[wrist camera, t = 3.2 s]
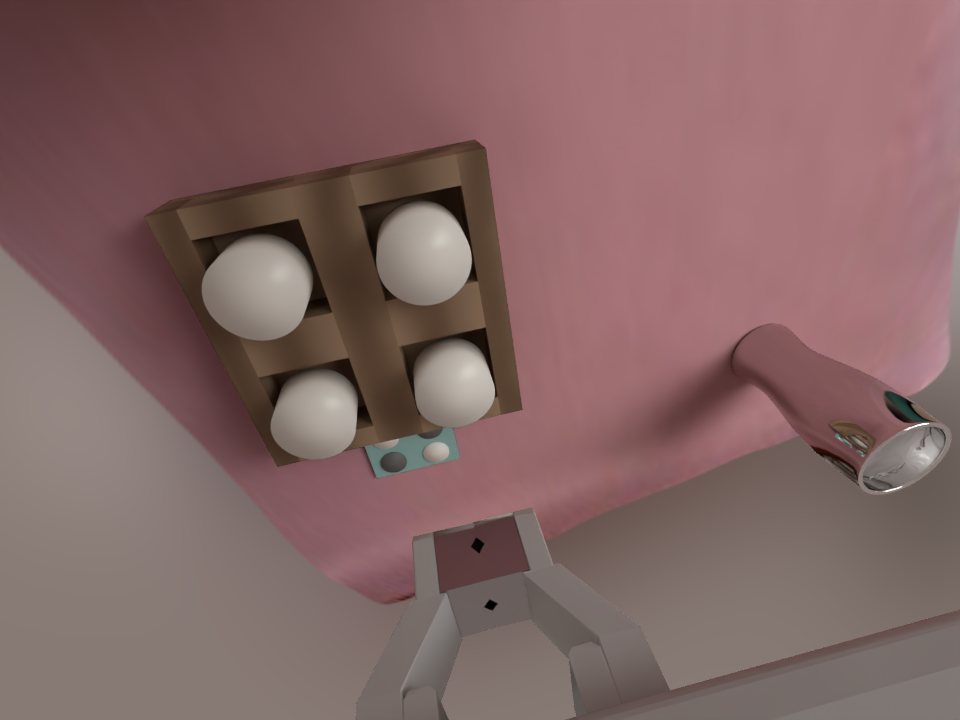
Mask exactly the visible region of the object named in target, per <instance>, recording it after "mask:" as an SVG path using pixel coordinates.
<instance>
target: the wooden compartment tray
mask: <svg viewBox="0 0 960 720" xmlns="http://www.w3.org/2000/svg"><path fill="white" fill-rule="evenodd" d="M415 200H426V201H431V202H435V203H437V204H439V205H441V206H443V207H445V208H446V209H447V210H449V211H450V212H451V213H452V214H453V215H454V217H455V218H456V219H457V221H458V222H459V224H460V226H461V228H462V231H463V233H464V235H465V237H466V239H467V241H468V244H469V246H470V250H471V257H472V264H471V270H470V273H469V276H468V278H467V281H466V282H465V284H464V285H463V287H462V288H461V289H460V290H459V291H458V292H457V293H456V294H455V295H454V296H452V297H451V298H449V299H448V300H446V301H444V302H441V303H438V304H434V305H425V306H422V305H414V304H410V303H407V302H404V301H402V300H400V299H399V298H397V297H396V296H394V295H393V294H392V293H391V292H390V291H389V290H388V289H387V288H386V287H385V285H384V284H383V282H382V280H381V279H380V276H379V273H378V270H377V263H376V256H377V237H378V232H379V229H380V226H381V224H382V222H383V220H384V219H385V217H386V216H387V215H388V214H389V213H390V212H391V211H392V210H393V209H394V208H396V207H397V206H399V205H401V204H403V203H406V202H409V201H415ZM144 218H145V219H146V221H147V223H148V225H149V227H150V229H151V231H152V233H153V234H154V236H155V238H156V240H157V242H158V244H159V246H160V248H161V249H162V251H163V253H164V255H165V257H166V259H167V261H168V263H169V264H170V266H171V268H172V270H173V272H174V274H175V276H176V278H177V279H178V281H179V283H180V285H181V287H182V289H183V291H184V293H185V294H186V296H187V298H188V300H189V302H190V304H191V306H192V307H193V309H194V311H195V313H196V315H197V317H198V319H199V321H200V322H201V324H202V326H203V328H204V330H205V332H206V334H207V336H208V337H209V339H210V341H211V343H212V345H213V347H214V349H215V351H216V352H217V354H218V356H219V358H220V360H221V362H222V364H223V366H224V367H225V369H226V371H227V373H228V375H229V377H230V379H231V381H232V382H233V384H234V386H235V388H236V390H237V392H238V394H239V396H240V397H241V399H242V401H243V403H244V405H245V407H246V409H247V411H248V412H249V414H250V416H251V418H252V420H253V422H254V424H255V426H256V427H257V429H258V431H259V433H260V435H261V437H262V439H263V441H264V442H265V444H266V446H267V448H268V450H269V452H270V454H271V456H272V457H273V459H274V461H275V463H276V465H277V467H279V466H283V465H287V464H291V463H296V462H300V461H304V460H309V459H305V458H301V457H297V456H294V455H292V454H290V453H288V452H286V451H285V450H284V449H282V448H281V447H280V446H279V445H278V444H277V443H276V441H275V440H274V438H273V436H272V433H271V419H272V416H273V413H274V410H275V407H276V404H277V401H278V398H279V395H280V392H281V389H282V386H283V385H284V383H285V382H286V381H287V380H288V378H290V377H291V376H292V375H294V374H295V373H297V372H300V371H302V370H306V369H311V368H323V369H329V370H332V371H335V372H338V373H340V374H341V375H343V376H345V377H346V378H347V379H348V380H349V381H350V382H351V383H352V384H353V386H354V387H355V389H356V391H357V394H358V410H357V422H356V433H355V436H354V439H353V441H352V442H351V444H350V445H349V446H348V447H347V448H346V449H345V450H344V451H347V450H352V449H356V448H360V447H365V446H369V445H373V444H377V443H382V442H386V441H390V440H395V439H399V438H403V437H408V436H412V435H416V434H420V433H425V432H429V431H433V430H438V429H442V428H446V427H442V426H438V425H435V424H433V423H431V422H429V421H428V420H427V419H425V418H424V417H423V416H422V414H421V413H420V412H419V410H418V408H417V405H416V399H415V388H414V376H413V368H414V363H415V361H416V358H417V357H418V355H419V354H420V352H421V351H422V350H423V349H424V348H425V347H427V346H428V345H430V344H431V343H433V342H435V341H438V340H441V339H446V338H459V339H464V340H467V341H469V342H471V343H473V344H474V345H476V346H477V347H478V348H479V349H480V350H481V352H482V353H483V355H484V357H485V360H486V363H487V366H488V368H489V371H490V374H491V377H492V380H493V383H494V387H495V397H494V401H493V403H492V405H491V407H490V409H489V410H488V411H487V413H486V414H485V415H484V416H482V417H481V418H480V419H479V420H481V419H485V418H489V417H494V416H498V415H502V414H506V413H511V412H515V411H519V410H522V403H521V396H520V389H519V382H518V375H517V368H516V361H515V354H514V346H513V339H512V332H511V325H510V318H509V311H508V304H507V297H506V289H505V282H504V275H503V268H502V261H501V254H500V247H499V240H498V232H497V225H496V218H495V211H494V204H493V197H492V190H491V183H490V175H489V168H488V161H487V154H486V148H485V147H483V146H482V145H481V144H480V143H479V142H477V141H476V140H471V141H466V142H461V143H456V144H451V145H446V146H441V147H436V148H431V149H426V150H421V151H416V152H411V153H406V154H401V155H396V156H391V157H386V158H381V159H376V160H371V161H366V162H361V163H356V164H351V165H346V166H340V167H335V168H330V169H325V170H320V171H315V172H310V173H305V174H300V175H295V176H290V177H285V178H280V179H275V180H270V181H265V182H260V183H255V184H250V185H245V186H240V187H235V188H230V189H225V190H220V191H214V192H209V193H204V194H199V195H194V196H189V197H184V198H179V199H174V200H170V201H168V202H167V203H165V204H163V205H162V206H160V207H159V208H157V209H155V210H154V211H152V212H150V213H149V214H147V215H146V216H144ZM253 233H266V234H271V235H275V236H278V237H281V238H283V239H285V240H287V241H289V242H290V243H292V244H293V245H295V246H296V247H297V248H298V249H299V250H300V251H301V252H302V253H303V254H304V256H305V257H306V258H307V260H308V262H309V264H310V266H311V269H312V272H313V289H312V293H311V296H310V299H309V302H308V305H307V308H306V311H305V314H304V316H303V318H302V321H301V322H300V323H299V325H298V326H297V327H296V328H295V329H294V330H293V331H291V332H290V333H289V334H287V335H285V336H283V337H280V338H277V339H273V340H265V341H259V340H251V339H246V338H242V337H240V336H237V335H235V334H233V333H231V332H229V331H228V330H226V329H224V328H223V327H222V326H221V325H219V324H218V323H217V322H216V321H215V320H214V319H213V317H212V316H211V315H210V313H209V312H208V310H207V308H206V306H205V304H204V301H203V297H202V281H203V278H204V275H205V273H206V271H207V269H208V268H209V267H210V266H211V264H212V263H213V262H214V261H215V260H216V259H217V258H218V256H219V255H220V254H221V253H222V252H223V251H224V250H225V249H226V247H227V246H228V245H229V244H230V243H231V242H233V241H234V240H236V239H237V238H239V237H241V236H244V235H248V234H253ZM342 452H343V451H342Z"/></svg>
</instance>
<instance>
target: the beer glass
mask: <svg viewBox="0 0 960 720" xmlns="http://www.w3.org/2000/svg"><path fill="white" fill-rule="evenodd" d="M732 368H733V371H734V372H735V374H736V375H737V376H738V377H740V378H741V379H743V380H744V381H746V382H748V383H750V384H752V385H754V386H755V387H757V388H758V389H760V390H761V391H762V392H764V393H765V394H766V395H767V396H768V397H769V398H770V400H771V401H772V402H773V403H774V404H775V406H776V407H777V408H778V410H779V411H780V412H781V414H782V415H783V416H784V418H785V419H786V420H787V421H788V423H789V424H790V425H791V427H792V428H793V429H794V430H795V431H796V433H797V434H798V435H799V436H800V437H801V438H802V440H803V441H804V442H805V443H806V444H807V445H808V446H810V447H811V448H812V449H813V450H814V451H815V452H816V453H817V454H818V455H819V456H820V457H822V458H823V459H824V460H825V461H826V462H828V463H829V464H830V465H831V466H833V467H834V468H835V469H836V470H838V471H839V472H840V473H842V474H843V475H844V476H846V477H847V478H849V479H850V480H851V481H853V482H854V483H855V484H856V485H858V486H859V487H860V488H861V489H862V490H863V491H865V492H866V493H869V494H875V495H881V494H888V493H892V492H895V491H898V490H901V489H903V488H906V487H908V486H909V485H912V484H913V483H915V482H917V481H918V480H920V479H921V478H923V477H924V476H925V475H927V474H928V473H929V472H930V471H932V469H934V468H935V467H936V466H937V465H938V464H939V462H940V461H941V460H942V459H943V457H944V456H945V455H946V453H947V451H948V449H949V447H950V444H951V439H952V437H951V432H950V430H949V428H948V427H947V426H945V425H944V424H942V423H940V422H939V421H938V420H936V419H935V418H934V417H932V416H931V415H930V414H928V413H927V412H926V411H924V410H923V409H922V408H920V407H919V406H918V405H916V404H915V403H914V402H912V401H911V400H910V399H908V398H907V397H905V396H904V395H902V394H901V393H899V392H898V391H896V390H895V389H894V388H892V387H890V386H888V385H887V384H885V383H883V382H882V381H880V380H878V379H877V378H875V377H872V376H870V375H868V374H866V373H864V372H862V371H860V370H858V369H855V368H853V367H851V366H848V365H846V364H843V363H841V362H838V361H836V360H834V359H831V358H829V357H826V356H824V355H822V354H820V353H817V352H816V351H814V350H812V349H810V348H809V347H808V346H806V345H805V344H804V343H803V342H802V341H801V340H800V339H799V338H798V337H797V336H796V335H795V334H794V333H793V332H792V331H791V330H790V329H789V328H787V327H786V326H784V325H780V324H768V325H764V326H761V327H759V328H757V329H755V330H753V331H752V332H750V333H749V334H747V335H746V336H745V337H744V338H743V339H742V340H741V341H740V343H739V344H738V345H737V347H736V349H735V351H734V353H733V356H732Z"/></svg>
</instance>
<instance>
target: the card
mask: <svg viewBox="0 0 960 720" xmlns="http://www.w3.org/2000/svg"><path fill="white" fill-rule="evenodd" d="M365 449H366V451H367V454H368V457H369V459H370V462H371V464H372V467H373V470H374V472H375V475H376V477H377V478H380V477H384V476H389V475H393V474H397V473H401V472H406V471H410V470H414V469H418V468H422V467H427V466H431V465H435V464H439V463H444V462H448V461H452V460H456V459H460V456H459V452H458V448H457V443H456V439H455V435H454V431H453V428H448V427H446V428H442V429H438V430H433V431H429V432H425V433H420V434H416V435H412V436H408V437H403V438H399V439H395V440H390V441H386V442H382V443H377V444H373V445H369V446H365Z"/></svg>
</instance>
